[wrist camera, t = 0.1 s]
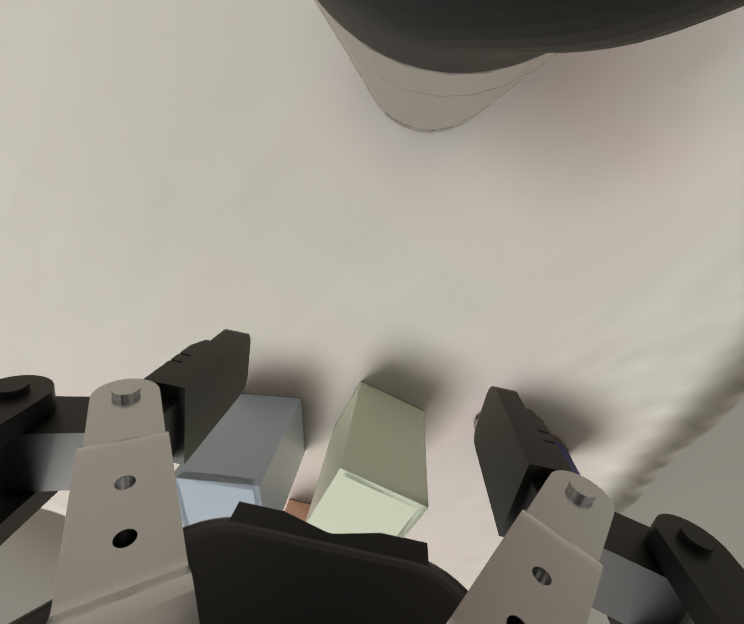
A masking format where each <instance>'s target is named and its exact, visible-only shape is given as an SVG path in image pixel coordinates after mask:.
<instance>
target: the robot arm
mask: <svg viewBox="0 0 744 624" xmlns="http://www.w3.org/2000/svg"><path fill="white" fill-rule="evenodd" d="M314 1H315V2H316V4H317V6H318V7H319V9H320V10H321V12H322V14H323V15H324V17H325V19H326V20H327V22H328V24H329V25H330V27H331V29H332V30H333V31H334V33H335V35H336V36H337V38H338V40H339V41H340V43H341V45H342V46H343V48H344V50H345V51H346V53H347V55H348V56H349V58H350V60H351V61H352V63H353V65H354V66H355V68H356V70H357V71H358V73H359V75H360V76H361V78H362V80H363V81H364V83H365V85H366V87H367V88H368V90H369V92H370V93H371V95H372V96H373V98H374V99H375V101H376V102H377V104H378V105H379V107H380V108H381V109H382V110H383V111H384V112H385V113H386V114H387V115H388V116H389V117H390V118H391V119H392V120H394V121H395V122H397V123H399V124H400V125H402V126H404V127H406V128H409V129H412V130H416V131H422V132H438V131H444V130H448V129H451V128H454V127H456V126H459V125H461V124H463V123H464V122H466V121H467V120H469V119H471V118H472V117H474V116H475V115H476V114H478V113H479V112H481V111H482V110H483V109H485V108H486V107H487V106H489V105H490V104H491V103H493V102H494V101H495V100H497V99H498V98H499V97H500V96H502V95H503V94H504V93H506V92H507V91H508V90H510V89H511V88H512V87H513V86H515V85H516V84H517V83H519V82H520V81H521V80H523V79H524V78H525V77H526V76H528V75H529V74H530V73H532V72H533V71H534V70H536V69H537V68H538V67H539V66H541V65H542V64H543V63H544V62H546V61H547V60H548V59H550V58H551V57H552V56H553V55H555V54H556V53H567V52H582V51H592V50H600V49H608V48H614V47H619V46H624V45H629V44H634V43H639V42H643V41H646V40H650V39H653V38H657V37H660V36H664V35H667V34H670V33H673V32H676V31H679V30H682V29H685V28H688V27H690V26H693V25H696V24H698V23H701V22H704V21H706V20H709V19H712V18H714V17H717V16H719V15H722V14H724V13H727V12H730V11H732V10H735V9H737V8H740V7H742V6H744V0H314ZM249 353H250V335H249V334H247V333H242V332H237V331H232V330H228V329H225V330H224V331H222V332H221V333H220V334H218V335H217V336H216V337H214V338H213V339H212V340H211V341H209V340H204V341H201V342H198V343H195V344H192V345H190V346H189V347H187V348H186V349H185V350H183V351H182V352H180V354H178V355H176V356H175V357H173V358H172V359H171V361H168V362H166V363H165V364H164V365H162V366H161V367H159V368H158V369H157V370H155V371H154V372H153V373H151V374H150V375H148V376H147V377H146V378H144V379H123V380H118V381H114V382H110V383H108V384H105V385H103V386H101V387H99V388H98V389H96V390H95V391H94V392H93V393H92V394H91V396H90V397H64V396H55V388H54V383H53V381H52V380H50V379H49V378H46V377H42V376H36V375H21V376H13V377H7V378H2V379H0V545H1V544H2V543H3V542H5V541H6V540H7V539H8V538H9V537H10V536H11V535H12V534H13V533H14V532H15V531H16V530H17V529H18V528H19V527H21V525H23V524H24V523H25V522H26V521H27V520H28V519H29V518H30V517H31V516H32V515H33V514H34V513H35V512H37V511H38V510H39V509H40V508H41V507H42V506H43V505H44V504H45V503H46V502H47V501H48V500H49V499H50V498H51V497H52V496H54V495H55V494H56V493H57V492H58V491H60V490H70V493H69V499H68V505H67V512H66V519H65V525H64V532H63V537H62V544H61V550H60V557H59V563H58V569H57V576H56V582H55V589H54V595H53V599H52V600H50V601H48V602H46V603H45V604H43V605H41V606H40V607H38V608H36V609H34V610H32V611H30V612H29V613H27V614H25V615H23V616H22V617H20V618H18V619H16V620H14V621H12V622H11V623H9V624H587V622H588V618H589V615H590V612H591V608H594V609H596V610H598V611H600V612H602V613H604V614H606V615H607V617H608V619H609V622H610V624H744V569H743V568H742V567H741V565H740V564H739V563H738V562H737V561H736V559H735V558H734V557H733V556H732V555H731V553H730V552H729V551H728V550H727V549H726V548H725V547H724V546H723V545H722V544H721V543H720V542H719V541H718V540H717V539H715V538H714V537H713V536H712V535H710V534H709V533H708V532H706V531H705V530H703V529H702V528H700V527H699V526H697V525H695V524H693V523H691V522H690V521H688V520H686V519H683V518H681V517H678V516H675V515H670V514H660V515H658V516H657V517H656V518H655V520H654V522H653V524H652V525H651V527H648V526H646V525H644V524H641V523H639V522H637V521H634V520H632V519H630V518H628V517H625V516H623V515H621V514H619V513H616V512H614V511H615V510H614V506H613V503H612V501H611V500H610V498H609V497H608V496H607V495H606V493H605V492H604V491H603V490H602V489H600V488H599V487H598V486H597V485H596V484H594V483H593V482H591V481H590V480H588V479H586V478H585V477H583V476H581V475H578V474H576V473H573V471H572V469H571V468H570V466H569V464H568V462H567V461H566V459H565V457H564V456H563V454H562V452H561V451H560V449H559V447H558V446H557V445H556V444H555V441H554V439H553V437H552V436H551V435H550V434H549V433H550V432H549V431H548V429H547V427H546V426H545V424H544V422H543V421H542V420H541V419H540V418H539V417H538V416H537V415H536V414H535V413H533V412H532V411H531V410H530V409H526V408H525V406H524V404H523V403H522V401H521V399H520V397H519V395H518V394H517V392H516V391H513V390H508V389H503V388H499V387H494V386H492V387H490V389H489V390H488V393H487V395H486V398H485V401H484V404H483V407H482V410H481V413H480V416H479V419H478V422H477V425H476V428H475V434H474V444H475V449H476V452H477V456H478V460H479V463H480V467H481V471H482V474H483V478H484V482H485V486H486V489H487V493H488V497H489V500H490V504H491V508H492V511H493V515H494V519H495V523H496V526H497V530H498V534H499V536H502V537H504V538H503V540H502V541H501V543H500V544H499V546H498V547H497V549H496V550H495V552H494V553H493V555H492V556H491V558H490V559H489V561H488V562H487V564H486V565H485V567H484V568H483V570H482V571H481V573H480V574H479V576H478V577H477V579H476V580H475V582H474V583H473V585H472V586H471V588H470V589H469V591H468V590H467V589H466V588H465V587H464V586H462V585H461V584H460V583H459V582H458V581H457V580H456V579H455V578H453V577H452V576H451V575H450V574H448V573H447V572H446V571H444V570H443V569H441V568H439V567H438V566H436V565H435V564H433V563H431V562H429V561H428V547H427V543H424V542H420V541H415V540H411V539H407V538H402V537H398V536H393V535H389V534H384V533H344V534H333V533H328V532H326V531H324V530H322V529H320V528H317V527H315V526H313V525H311V524H309V523H307V522H305V521H303V520H301V519H299V518H297V517H295V516H293V515H291V514H289V513H287V512H285V511H281V510H277V509H272V508H268V507H263V506H259V505H254V504H250V503H245V502H241V501H239V503H238V505H237V507H236V508H235V510H234V512H233V514H232V516H231V517H222V518H214V519H209V520H204V521H200V522H197V523H194V524H191V525H188V526H185V527H183V526H182V519H181V513H180V506H179V499H178V492H177V485H176V478H175V471H174V464H173V463H178V464H182V465H184V464H185V463H186V462H187V461H188V459H189V458H190V457H191V456H192V454H193V453H194V452H195V451H196V449H197V448H198V447H199V446H200V444H201V443H202V442H203V441H204V440H205V438H206V437H207V436H208V435H209V433H210V432H211V431H212V430H213V428H214V427H215V426H216V425H217V423H218V422H219V421H220V420H221V419H222V417H223V416H224V415H225V414H226V412H227V411H228V410H229V409H230V407H231V406H232V405H233V404H234V402H235V401H236V400H237V399H238V398H239V396H240V395H241V394H242V392H243V390H244V388H245V385H246V381H247V376H248V365H249Z"/></svg>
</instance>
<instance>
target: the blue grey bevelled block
mask: <svg viewBox="0 0 744 624" xmlns="http://www.w3.org/2000/svg"><path fill="white" fill-rule="evenodd" d="M304 452H305V445H304V432H303V418H302V405H301V398H294V397H281V396H267V395H254V394H241V395H240V396H239V398H238V399H237V400H236V401H235V402H234V404H233V405H232V406H231V407H230V409H229V410H228V411H227V412H226V414H225V415H224V416H223V417H222V419H221V420H220V421H219V422H218V423H217V425H216V426H215V427H214V428H213V430H212V431H211V432H210V433H209V435H208V436H207V437H206V438H205V440H204V441H203V442H202V443H201V444H200V446H199V447H198V448H197V449H196V451H195V452H194V453H193V454H192V456H191V457H190V458H189V459H188V461H187V462H186V463H185V464H184V465H182V464H180V465H179V467H178V468H177V469H176V470H175V478H176V485H177V492H178V499H179V506H180V513H181V519H182V523H183V527H185V526H188V525H191V524H194V523H197V522H200V521H204V520H209V519H214V518H222V517H231V516H232V514H233V512H234V510H235V508H236V507H237V505H238V503H239V501H241V502H245V503H250V504H254V505H259V506H263V507H268V508H272V509H277V510H281V511H283V509H284V506H285V503H286V501H287V498H288V495H289V493H290V490H291V487H292V485H293V482H294V479H295V476H296V474H297V471H298V468H299V466H300V463H301V460H302V458H303V455H304Z"/></svg>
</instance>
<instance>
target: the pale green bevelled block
mask: <svg viewBox="0 0 744 624" xmlns="http://www.w3.org/2000/svg"><path fill="white" fill-rule="evenodd" d="M427 509H428V490H427V469H426V447H425V425H424V411H422V410H420V409H418V408H416V407H414V406H412V405H410V404H407V403H405V402H403V401H401V400H399V399H397V398H395V397H393V396H390V395H388V394H386V393H384V392H382V391H380V390H378V389H376V388H373V387H371V386H369V385H367V384H365V383H363V382H360V384H359V385H358V387H357V389H356V391H355V393H354V394H353V396H352V398H351V400H350V401H349V403H348V405H347V407H346V408H345V410H344V412H343V414H342V415H341V417H340V419H339V421H338V422H337V424H336V426H335V428H334V430H333V432H332V435H331V438H330V442H329V445H328V449H327V452H326V455H325V459H324V462H323V465H322V469H321V472H320V475H319V479H318V482H317V485H316V489H315V492H314V496H313V499H312V502H311V506H310V509H309V512H308V516H307V519H306V522H307V523H309V524H311V525H313V526H315V527H317V528H320V529H322V530H324V531H326V532H328V533H333V534H344V533H384V534H389V535H393V536H398V537H402V538H404V537H405V536H406V534H407V533H408V532H409V531H410V529H411V528H412V527H413V526H414V525H415V523H416V522H417V521H418V520H419V518H420V517H421V516H422V515H423V513H424V512H425V511H426V510H427Z"/></svg>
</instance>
